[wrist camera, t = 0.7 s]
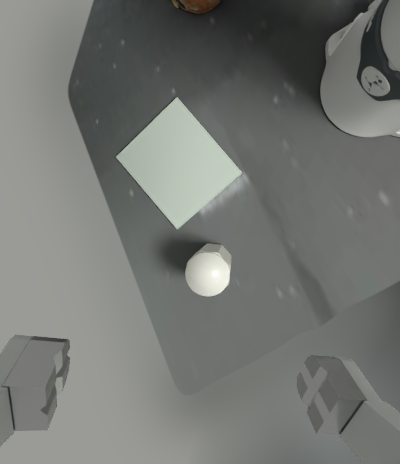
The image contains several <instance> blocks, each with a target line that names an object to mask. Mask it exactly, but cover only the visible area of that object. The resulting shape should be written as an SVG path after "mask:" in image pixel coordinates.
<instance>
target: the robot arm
mask: <svg viewBox="0 0 400 464" xmlns="http://www.w3.org/2000/svg"><path fill="white" fill-rule="evenodd" d="M325 54H326V67H325V70H324V73H323V76H322V80H321V87H320V95H321V102H322V105H323V108H324V111H325V113H326V114H327V116H328V118H329V119H330V120H331V121H332V122H333V124H335V125H336V126H337V127H338V128H339V129H341V130H343V131H344V132H346V133H349V134H351V135H355V136H359V137H376V136H383V135H392V136H396V137H400V0H375V1H373V2H372V3H371V4H370V5H369V7H368V11H367V12H365V13H360V14H359V15H358V16H357V17H356V18H355V20H354V21H353V22H352V23H350V24H349V25H347V26H346V27H344V28H343V29H341V30H339V31H338V32H336V33H335V34H333V35H332V36H331V37H330V38H329V39H328V41H327V43H326V46H325ZM69 348H70V342H69V340H68V339H57V338H48V337H37V336H24V335H15V336H14V337H12V338H11V339H10V340H9V342H8V343H7V345H6V346H5V348H4V349H3V350H2V352H1V354H0V446H1V445H2V444H3V443H4V442H5V441H6V440H7V439H8V438H9V437H10V436H11V435H12V434H13V433H14V431H24V430H48V428H49V425H50V422H51V420H52V417H53V415H54V412H55V410H56V407H57V395H58V394H59V393H60V392H62V391H63V388H64V385H65V382H66V379H67V375H68V371H69V364H70V358H69V357H68V356H67V353H68V351H69ZM305 365H306V367H305V368H304V369H302V370H301V371H300V373H299V375H298V377H297V389H298V393H299V395H300V397H301V400H302V401H303V402H304V403H305V404H306V405H307V406H308V411H307V414H308V416H309V418H310V421H311V423H312V425H313V427H314V430H315V432H316V434H328V435H330V434H331V435H340V438H341V439H342V440H343V441H344V442H345V443H346V444H347V446H348V447H349V448H350V449H351V450H352V451H353V453H354V454H355V455H356V456H357V457H358V458H359V459H360V460H361V462H362V463H363V464H400V412H398V411H397V410H396V409H394V408H393V407H392V406H391V405H389V404H388V403H386V402H382V401H381V400H380V399H379V397H378V395H377V394H376V393H375V391H374V390H373V388H372V387H371V385H370V384H369V383H368V381H367V380H366V378H365V377H364V375H363V374H362V373H361V371H360V370H359V368H358V367H357V365H356V364H355V363H354V361H353V360H351V359H350V358H342V357H329V356H309V357H307V359H306V361H305Z"/></svg>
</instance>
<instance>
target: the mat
mask: <svg viewBox="0 0 400 464" xmlns="http://www.w3.org/2000/svg"><path fill="white" fill-rule="evenodd" d="M116 158H117V159H118V160H119V161H120V163H121V164H122V165H123V166H124V167H125V169H126V170H127V171H128V172H129V173H130V174H131V176H132V177H133V178H134V179H135V180H136V181H137V183H138V184H139V185H140V186H141V187H142V189H143V190H144V191H145V192H146V193H147V194H148V196H149V197H150V198H151V199H152V200H153V202H154V203H155V204H156V205H157V206H158V207H159V209H160V210H161V211H162V212H163V213H164V215H165V216H166V217H167V218H168V219H169V220H170V222H171V223H172V224H173V225H174V226H175V227H176V229H179V228H180V227H181V226H182V225H183V224H184V223H186V222H187V221H188V220H189V219H190V218H191V217H192V216H194V215H195V214H196V213H197V212H198V211H199V210H200V209H202V208H203V207H204V206H205V205H206V204H207V203H208V202H210V201H211V200H212V199H213V198H214V197H215V196H216V195H218V194H219V193H220V192H221V191H222V190H223V189H224V188H226V187H227V186H228V185H229V184H230V183H231V182H233V181H234V180H235V179H236V178H237V177H238V176H239V175H241V174H242V172H241V171H240V170H239V169H238V167H237V166H236V165H235V164H234V163H233V162H232V160H231V159H230V158H229V157H228V156H227V155H226V153H225V152H224V151H223V150H222V149H221V148H220V146H219V145H218V144H217V143H216V142H215V141H214V139H213V138H212V137H211V136H210V135H209V134H208V132H207V131H206V130H205V129H204V128H203V127H202V125H201V124H200V123H199V122H198V121H197V120H196V119H195V117H194V116H193V115H192V114H191V113H190V112H189V110H188V109H187V108H186V107H185V106H184V105H183V103H182V102H181V101H180V100H179V99H178V98H177V97H176V98H175V99H174V100H173V101H172V102H171V103H170V104H169V105H168V106H167V107H166V108H165V109H164V110H163V111H162V112H161V113H160V114H159V115H158V116H157V117H156V118H155V119H154V120H153V121H152V122H151V123H150V124H149V125H148V126H147V127H146V128H145V129H144V130H143V131H142V132H141V133H140V134H139V135H138V136H137V137H136V138H135V139H134V140H133V141H132V142H131V143H130V144H129V145H128V146H127V147H126V148H125V149H123V150H122V151H121V152H120V153H119V154H118V155H117V156H116Z"/></svg>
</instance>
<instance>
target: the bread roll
mask: <svg viewBox="0 0 400 464" xmlns="http://www.w3.org/2000/svg"><path fill="white" fill-rule="evenodd" d="M220 1H221V0H172V3H173V4H174V6H175V7H177V8H179V7H180V8H182V9H184V10H186V11H189V12H192V13H196V14H202V13H206V12H208V11H210V10H212V9H213V8H214V7H215V6H217V5H218V4H219V2H220Z"/></svg>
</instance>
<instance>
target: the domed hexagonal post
mask: <svg viewBox="0 0 400 464" xmlns="http://www.w3.org/2000/svg"><path fill="white" fill-rule="evenodd" d="M231 257H232V256H231V255H230V254H229V252H228V251H227V250H226V249H225V248H224V247H223V245H220V244H210V243H207V244H206V245H204V246H203V247H202V248H201V249H200V250H198V251H197V252H196V253H195V254H194V255H193V256H192V257H191V259H190V260H189V261H188V262H187V267H186V271H185V276H186V281H187V283H188V285H189V287H190V288H191V289H192V290H193V291H194V292H196V293H197V294H199V295H202V296H214V295H217V294H219V293H220V292H222V291H223V290H224V289H225V287H226V286H227V285H229V278H230V269H231Z"/></svg>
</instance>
